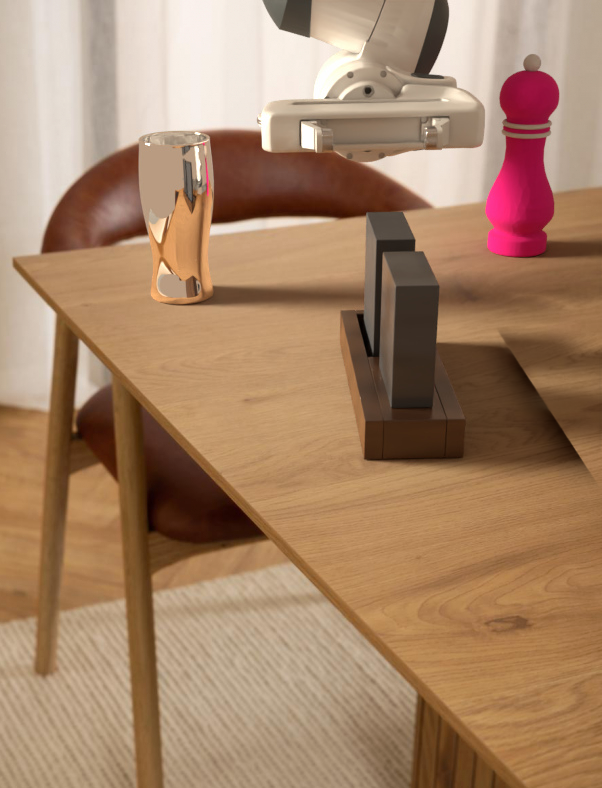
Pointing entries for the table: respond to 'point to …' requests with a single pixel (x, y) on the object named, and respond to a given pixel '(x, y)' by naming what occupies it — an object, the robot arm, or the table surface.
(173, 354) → the table surface
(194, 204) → the beer glass
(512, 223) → the pepper mill
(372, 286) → the back pad
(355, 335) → the backrest rail
